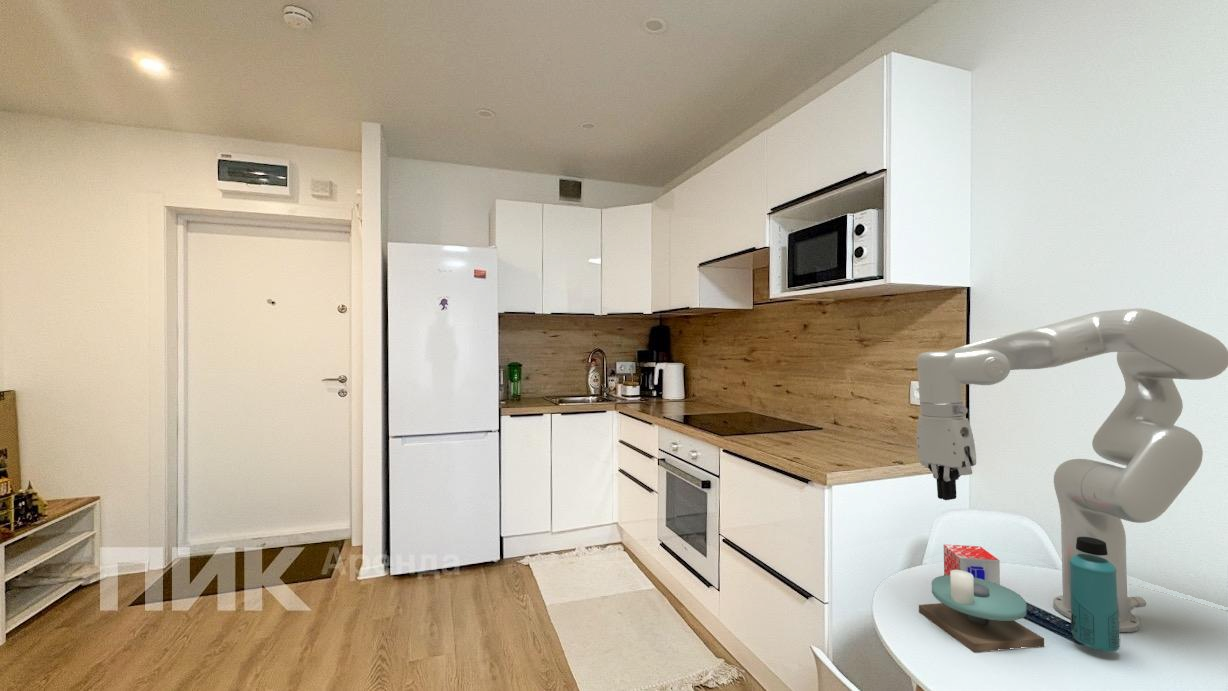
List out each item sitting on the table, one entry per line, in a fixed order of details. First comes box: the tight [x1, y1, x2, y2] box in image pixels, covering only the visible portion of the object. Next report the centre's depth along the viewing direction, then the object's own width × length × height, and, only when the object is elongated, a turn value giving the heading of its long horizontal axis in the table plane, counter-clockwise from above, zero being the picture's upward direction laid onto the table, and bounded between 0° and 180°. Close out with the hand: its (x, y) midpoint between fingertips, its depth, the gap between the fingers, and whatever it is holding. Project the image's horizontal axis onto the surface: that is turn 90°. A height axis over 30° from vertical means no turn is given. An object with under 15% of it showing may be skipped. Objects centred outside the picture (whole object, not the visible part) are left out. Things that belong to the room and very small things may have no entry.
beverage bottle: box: [1069, 537, 1121, 653], centre depth 90 cm, size 6×7×20 cm
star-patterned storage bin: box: [943, 543, 1001, 585], centre depth 114 cm, size 8×8×8 cm
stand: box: [918, 602, 1045, 653], centre depth 97 cm, size 14×14×5 cm
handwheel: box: [931, 570, 1028, 621], centre depth 97 cm, size 15×15×6 cm
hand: (947, 498), depth 103 cm, fingers closed
